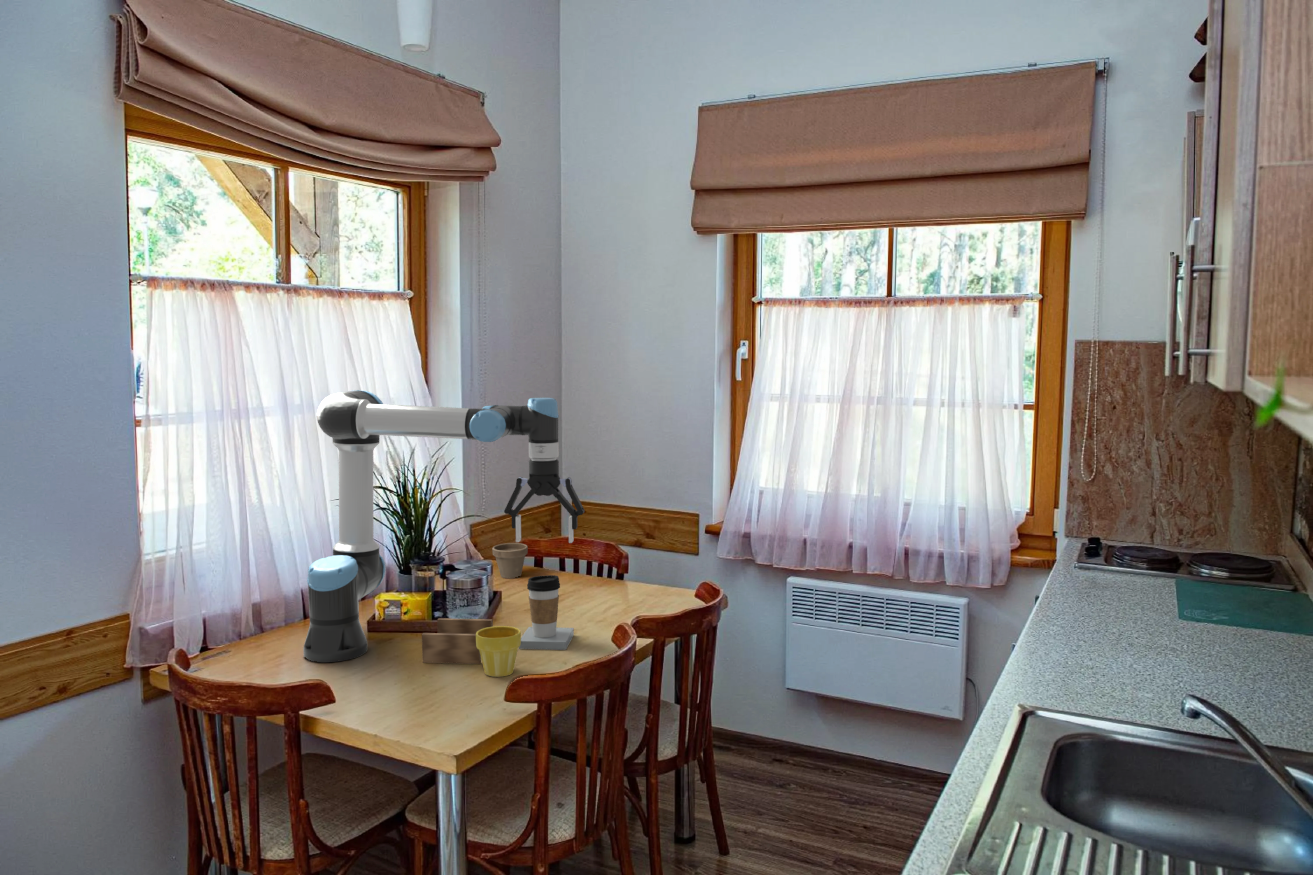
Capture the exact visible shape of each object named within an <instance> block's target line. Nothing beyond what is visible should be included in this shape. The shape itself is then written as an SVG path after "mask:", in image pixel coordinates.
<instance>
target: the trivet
mask: <svg viewBox="0 0 1313 875" xmlns="http://www.w3.org/2000/svg"><path fill="white" fill-rule="evenodd" d="M574 632H575V631H574V627H557V626H556V635H555V636H552V637H547V638H539V637H535V636H534V635H533V629H532V626H528V627H527V629H526V630H525V631H524V633H523V634H522V635H521V645H520V646H519V647H518V650H550V651H551V650H552V651H553V650H555V651H556V650H558V651H560V650H561V651H566V650H567V648H568V646H569V644H571V641H572V639H573V637H574V634H575V633H574Z"/></svg>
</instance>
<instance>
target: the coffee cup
mask: <svg viewBox="0 0 1313 875" xmlns="http://www.w3.org/2000/svg"><path fill="white" fill-rule="evenodd" d="M560 588H561V583H560V578H559V576H558V575H555V574H554V575H551V574H550V575H537V576H536V575H535V576H532V577H530V578H528V579H527V590H528V600H529V601H528V602H529V611H530V618H531V627H532V629H533V635H534V636H535V637H539V638H547V637H552V636H555V635H556V627H557V623H558V622H557V621H558V611H559V599H560V595H559V590H560Z"/></svg>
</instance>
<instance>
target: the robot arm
mask: <svg viewBox="0 0 1313 875" xmlns="http://www.w3.org/2000/svg"><path fill="white" fill-rule="evenodd" d="M559 417H560V416H559V409H558V400H556V399H555V398H553V397H531V398H529V399H528V400H527V405H499V404H493V405H492V404H491V405H485V406H482V408H467V407H448V406H446V407H443V406H427V405H425V406H424V405H423V406H422V405H404V404H388V403H387V404H384V403H383V401H382V400H381V398H380V397H379V396H378V395H377V394H374V393H373V392H370V391H367V390H361V389H360V390H359V389H357V390H356V389H354V390H353V389H352V390H349V391H343V392H336V393H333V394H330V395H328V396H326V397H325V398H324V399H323V400H322V401H321V402H320V404H319V406H318V408H317V412H316V420H317V423H318V426H319V428H320V429H321V431H322V432H323V433H324V434H325V435H326V436H328V437H329V438H332V444H333V446H335V447H336V449H337V450H338V541H337V542H336V543H335V544H334V545H333V547H332V555H330V556H329V555H328V556H327V557H321V558H319V559H317V560H314V561H313V562H312V563H311V564H310V565H309V567H308V570H307V578H306V580H307V581H306V582H307V588H308V589H307V590H308V593H307V594H308V610H309V611H308V612H309V627H308V630H307V633H306V637H305V640H304V643H303V644H304V645H303V647H302V648H303V649H302V650H303V658H304V657H306V658H307V659H309V660H308V661H310V660H311V662H314V661H317V662H316V663H337V662H343V661H349V660H352V659H355V658H358V657H360V656H363V655H364V654H366V653H367V652H368V640H367V637H366V634H365V631H364V630H363V627H362V624H361V622H360V612H359V611H360V609H359V608H360V605H359V600H361V599H362V598H364V597H365V596H367V595H369V594H371V593H373V592H374V591H375V590H377V588H378V587H379V586H380V585H381V584H382V583H383V581H384V578H385V576H386V567H387V566H386V562H385V560H384V557H383V556H381V553H380V545H379V543H378V542H377V541H375V539H374V451H375V450H374V449H375V448H376V447H377V446H379V444H380V438H381V437H380V436H388V437H389V436H390V437H391V436H392V437H414V438H416V437H417V438H434V439H435V438H436V439H456V440H457V439H459V440H473V441H479V442H482V443H492V442H495V441H497V440H499V439H502V438H504V437H506V436H528V458H530V460H529V461H528V478H525V477H522V476H519V477H518V478H516V482H515V488H514V490H513V491H512V494H511V495H510V498H509V500H508V502H507V504H506V506H505V508H504V510H503V512H504V513H505V515H507V514H508V515H509V516H510V517H511V529H515V543H519V542H521V541H522V514H519V513H520V511H521V510H522V509H523V508H524V507H525V506H526V504H528V502H529V501H530V500H531V498H532V497H533V496H534V495H536V496H539V497H540V496H547V497H550V496H552V495H553V497H554V498H555V499H557V500H558V502H559V503H560V504H561V505H562V507H563V508H564V509H565V511H566V512H568V513H569V515H570V516H568V543H569V544H572V543H573V542H574V530H577V529H578V517H579V516H582V515H583V514H584V513H585V510H586V509H585V508H584V506H583V505H582V502H581V501H580V498H579V497H578V494H577V492H576V490H575V488H574V486H573V480H572V478H571V477H570V476H569V477H567V478H560V469H559V468H560V467H559V466H560V461H559V460H558V458H559V456H560V454H559V451H560V449H559V448H560V447H559V442H560V441H559ZM526 484H527V485H528V486H529V488H530V490H529V491H528V492H527V493H526V494H525V496H524V497H523V499H521V501H519V503H518V505H516V506H515V508H513V507H514V505H515V503H516V501H517V499H518V496H519V495H520V493H521V492H522V489H523V487H525V486H526ZM560 485H562V486H563V487H564V488H566V491H567V492H568V495H569V497H570V499H571V501H572V503H573V505H574V506H573V505H572V504H571V503H570V501H568V499H567V498H566V497H565V496H564V494H563V493H562V492H561V490H560V489H559V487H560ZM307 659H306V660H307Z"/></svg>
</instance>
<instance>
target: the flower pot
mask: <svg viewBox="0 0 1313 875" xmlns="http://www.w3.org/2000/svg"><path fill="white" fill-rule="evenodd" d="M528 548H529V547H528V545H527V544H524V543H519V542H507V543H499V544H496V545H493V547H492V556H493V557H495V560H496V564H497V567H498V568H497V569H498V571H499V574H500V578H503V579H516V578H515V577H517V578H519V577H518V576H520V577H521V576H522V572H523V567H524V562H525V559H526V555H528V554H529V553H528V551H529V550H528Z"/></svg>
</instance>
